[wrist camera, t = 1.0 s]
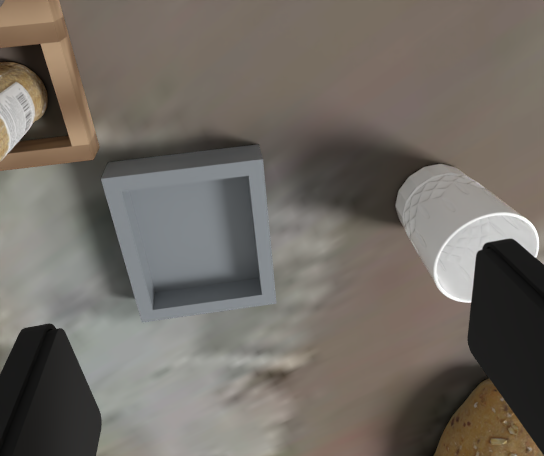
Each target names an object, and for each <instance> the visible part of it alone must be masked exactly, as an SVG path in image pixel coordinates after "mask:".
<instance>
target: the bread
mask: <svg viewBox="0 0 544 456" xmlns="http://www.w3.org/2000/svg"><path fill="white" fill-rule="evenodd" d="M434 456H544V455H543V454H542V452H541V451H540V449H539V448H538V447H537V445H536V444H535V442H534V441H533V439H532V438H531V437H530V435H529V434H528V432H527V431H526V430H525V428H524V427H523V425H522V424H521V422H520V421H519V420H518V418H517V417H516V415H515V414H514V413H513V411H512V410H511V408H510V407H509V405H508V404H507V403H506V401H505V400H504V398H503V397H502V396H501V394H500V393H499V391H498V390H497V389H496V387H495V386H494V384H493V383H492V381H491V380H490V379H489V378H488V379H487V380H485V381H483V382H481V383H480V384H479V385H478V386H477V387H476V388H475V389H474V390H473V391H472V393H471V394H470V395H469V397H468V398H467V399H466V400H465V402H464V403H463V404H462V405H461V406H460V407H459V408H458V410H457V411H456V412H455V413H454V415H453V416H452V418H451V419H450V421H449V422H448V424H447V426H446V428H445V429H444V431H443V434H442V436H441V438H440V441H439V444H438V446H437V449H436V452H435V454H434Z"/></svg>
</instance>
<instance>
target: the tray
mask: <svg viewBox="0 0 544 456" xmlns="http://www.w3.org/2000/svg"><path fill="white" fill-rule="evenodd" d="M101 181H102V185H103V188H104V192H105V195H106V199H107V202H108V206H109V209H110V213H111V216H112V220H113V223H114V227H115V230H116V234H117V237H118V241H119V244H120V248H121V251H122V255H123V258H124V262H125V265H126V269H127V272H128V276H129V279H130V283H131V286H132V290H133V293H134V297H135V300H136V304H137V307H138V311H139V314H140V318H141V321H142V322H148V321H155V320H162V319H169V318H177V317H184V316H191V315H198V314H205V313H212V312H219V311H226V310H233V309H240V308H247V307H255V306H262V305H269V304H276V294H275V283H274V273H273V262H272V251H271V241H270V230H269V219H268V209H267V198H266V187H265V177H264V166H263V158H262V154H261V151H260V147H259V144H257V145H249V146H240V147H232V148H224V149H215V150H207V151H198V152H190V153H182V154H173V155H165V156H156V157H148V158H140V159H131V160H123V161H114V162H108V163H107V165H106V168H105V170H104V172H103V175H102V177H101Z"/></svg>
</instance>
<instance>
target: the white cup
mask: <svg viewBox="0 0 544 456" xmlns="http://www.w3.org/2000/svg"><path fill="white" fill-rule="evenodd" d="M395 207H396V210H397V214H398V217H399V220H400V222H401V223H402V225H403V227H404V228H405V231H406V233H407V235H408V237H409V239H410V241H411V242H412V244H413V246H414V248H415V250H416V252H417V253H418V255H419V257H420V259H421V260H422V262H423V264H424V265H425V267H426V269H427V270H428V272H429V274H430V275H431V277H432V279H433V281H434V282H435V284H436V286H437V287H438V289H439V290H440V291H441V292H442V293H443V294H444V295H445V296H447V297H448V298H450V299H453V300H455V301H459V302H466V303H471V300H472V290H473V280H474V271H475V261H476V254H477V252H478V251H479V250H482V248H483V246H484V244H485V243H487V242H493V241H498V240H503V239H509V238H510V239H514V240H515V241H517V242H518V243H519V244H520V245H521V246H522V247H524V248H525V249H526V250H527V251H528V252H529V253H531V254H532V255H533V256H534V257H535V258H536V257H537V254H538V249H539V238H538V234H537V231H536V229H535V227H534V226H533V225H532V223H531V222H530V221H529V220H527V219H526V218H525V217H523V216H522V215H521V214H519V213H518V212H517V211H515V210H514V209H513V208H511V207H510V206H509V205H507V204H506V203H505V202H504V201H502V200H501V199H500V198H498V197H497V196H496V195H495V194H493V193H492V192H491V191H489V190H488V189H486V188H485V187H483V186H482V185H481V184H479V183H478V182H476V181H475V180H473V179H471V178H469V177H468V176H466V175H465V174H464V173H463V172H461V171H460V170H459V169H458V168H456V167H452V166H448V165H444V164H436V165H431V166H426V167H423V168H422V169H420V170H418V171H417V172H415V173H414V174H412V175H411V176H409V177H408V178H407V180H406V181H405V183H404V184H403V185H402V187H401V188H400V189H399V191H398V195H397V200H396V204H395Z"/></svg>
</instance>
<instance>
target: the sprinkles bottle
mask: <svg viewBox="0 0 544 456" xmlns="http://www.w3.org/2000/svg"><path fill="white" fill-rule="evenodd" d="M47 102H48V98H47V91H46V89H45V86H44V84H43V82H42V81H41V79H40V78H39V77H38V76H37V75H36V74H35V73H34V72H33V71H31V70H30V69H29V68H27V67H26V66H24V65H22V64H18V63H14V62H0V161H1V160H2V159H3V158H4V157H5V156H6V155H7V154H8V153H9V152H10V151H11V150H12V148H13V147H14V146H15V145H16V144H17V143H18V142H19V140H20V139H21V138H22V137H23V136H24V135H25V134H26V132H27V131H28V130H29V129H30V127H31V125H32V124H33V123H34V122H35V121H37V120H38V119H39V118H41V117H42V116H43V114H44V112H45V110H46V108H47Z"/></svg>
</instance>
